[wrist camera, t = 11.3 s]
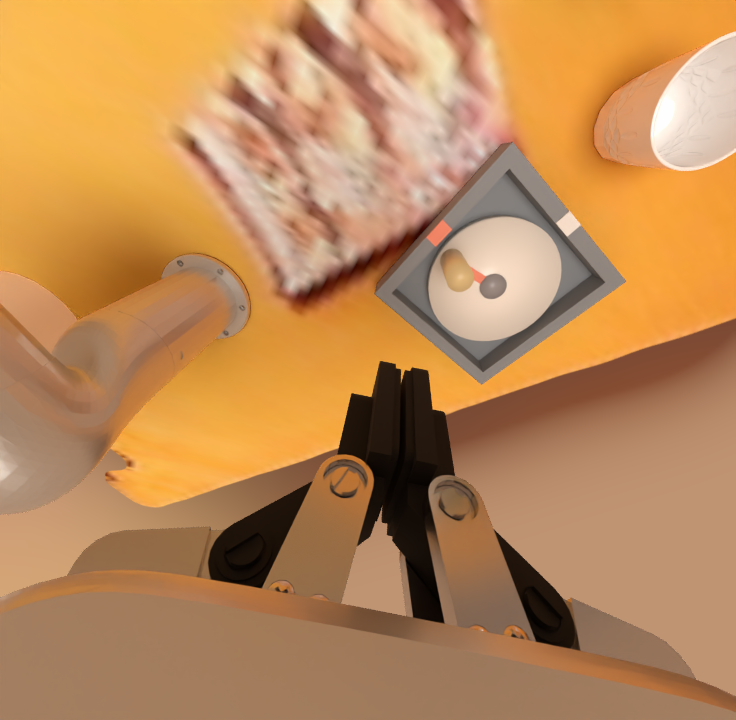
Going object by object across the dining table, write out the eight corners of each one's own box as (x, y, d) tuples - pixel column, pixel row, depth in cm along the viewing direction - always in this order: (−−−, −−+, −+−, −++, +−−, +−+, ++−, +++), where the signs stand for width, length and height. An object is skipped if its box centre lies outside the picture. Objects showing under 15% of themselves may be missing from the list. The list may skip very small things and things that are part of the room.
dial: (583, 259, 36) (630, 284, 29) (494, 351, 44) (513, 391, 37) (480, 187, 34) (502, 194, 26) (405, 299, 41) (405, 330, 34)
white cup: (651, 170, 32) (736, 174, 24) (573, 166, 33) (630, 167, 25) (697, 69, 28) (821, 30, 20) (607, 65, 29) (691, 26, 20)
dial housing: (476, 368, 47) (481, 385, 44) (377, 283, 42) (374, 294, 38) (606, 270, 38) (627, 282, 35) (501, 144, 33) (513, 141, 29)
